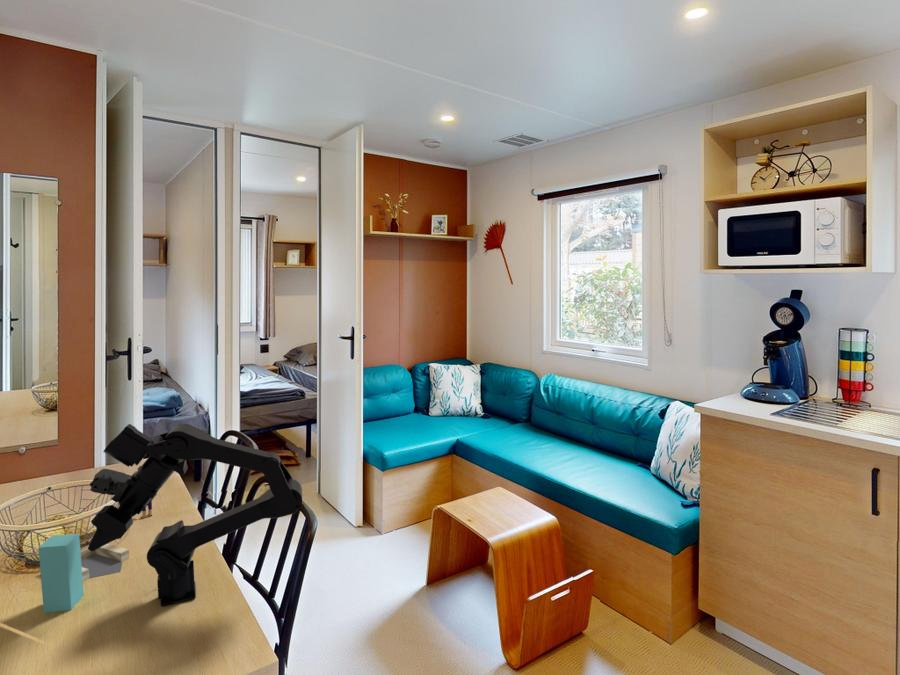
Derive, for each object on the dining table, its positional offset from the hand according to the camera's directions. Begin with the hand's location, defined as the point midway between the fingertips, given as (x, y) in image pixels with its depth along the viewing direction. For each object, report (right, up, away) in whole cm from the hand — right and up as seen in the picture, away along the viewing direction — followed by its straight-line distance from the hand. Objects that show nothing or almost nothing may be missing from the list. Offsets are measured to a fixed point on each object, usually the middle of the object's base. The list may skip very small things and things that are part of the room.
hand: (100, 538), depth 110 cm
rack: (-12, -12, +15) cm, 23 cm away
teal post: (-8, -14, +1) cm, 16 cm away
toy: (-13, -10, +41) cm, 44 cm away
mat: (-12, -12, +15) cm, 23 cm away
